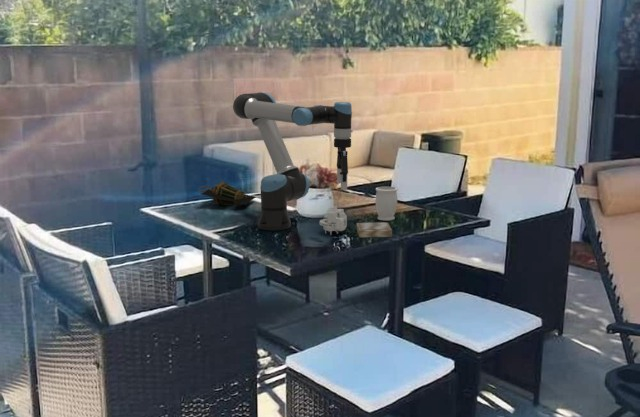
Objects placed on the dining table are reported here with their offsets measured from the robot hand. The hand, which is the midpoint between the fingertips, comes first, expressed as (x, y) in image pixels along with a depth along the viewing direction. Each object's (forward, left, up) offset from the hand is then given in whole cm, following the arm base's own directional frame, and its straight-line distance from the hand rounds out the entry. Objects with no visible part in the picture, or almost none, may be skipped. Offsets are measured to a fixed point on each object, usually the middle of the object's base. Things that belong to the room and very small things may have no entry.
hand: (341, 186), depth 297 cm
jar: (+23, +20, -20) cm, 37 cm away
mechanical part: (-4, -6, -20) cm, 21 cm away
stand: (+14, -7, -20) cm, 25 cm away
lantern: (-58, +57, -20) cm, 84 cm away
